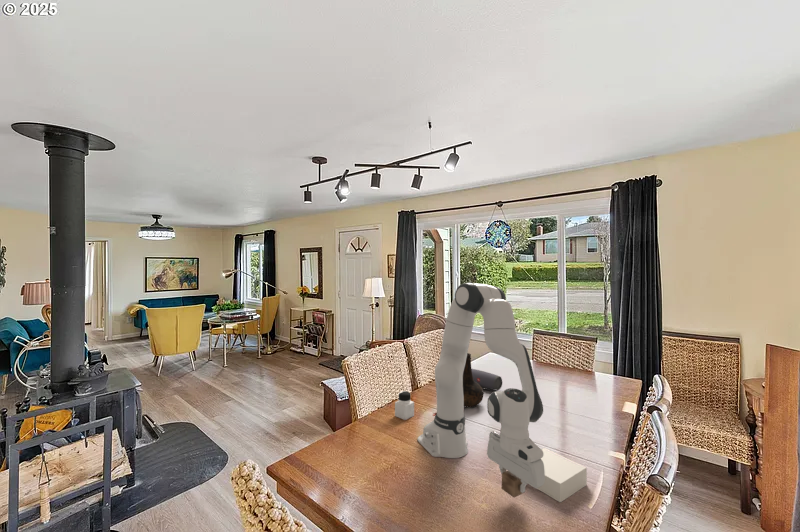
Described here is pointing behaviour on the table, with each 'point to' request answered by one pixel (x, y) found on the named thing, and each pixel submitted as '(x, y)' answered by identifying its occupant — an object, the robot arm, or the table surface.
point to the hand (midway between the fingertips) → (513, 485)
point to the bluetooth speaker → (487, 379)
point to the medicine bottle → (404, 406)
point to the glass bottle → (471, 386)
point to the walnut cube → (511, 484)
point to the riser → (561, 476)
